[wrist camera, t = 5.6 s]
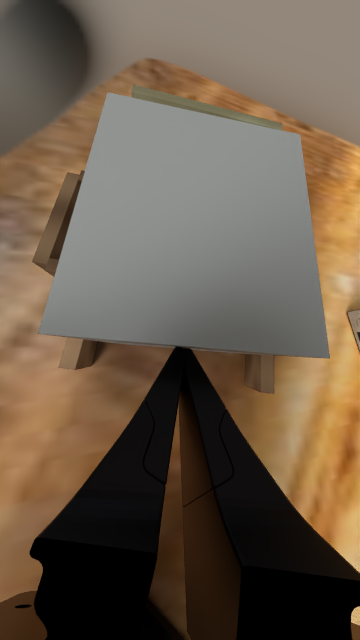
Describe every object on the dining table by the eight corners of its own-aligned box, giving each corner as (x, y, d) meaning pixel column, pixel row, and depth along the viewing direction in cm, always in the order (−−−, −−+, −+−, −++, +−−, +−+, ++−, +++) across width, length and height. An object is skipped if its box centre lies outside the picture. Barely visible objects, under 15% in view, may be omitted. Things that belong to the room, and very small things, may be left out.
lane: (298, 391, 15) (345, 406, 11) (25, 357, 13) (-35, 361, 9) (289, 172, 21) (317, 132, 17) (105, 129, 19) (90, 73, 15)
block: (234, 353, 15) (330, 358, 6) (117, 343, 14) (37, 333, 5) (234, 239, 18) (300, 134, 9) (137, 224, 17) (107, 92, 8)
